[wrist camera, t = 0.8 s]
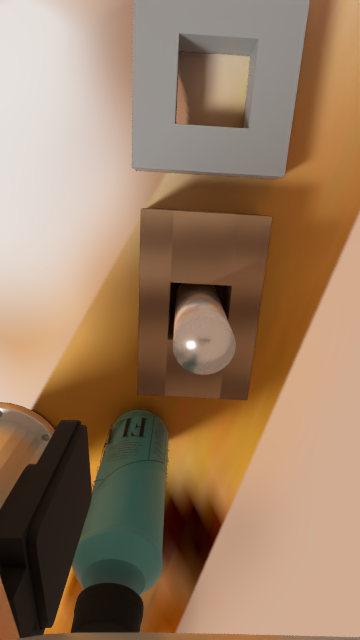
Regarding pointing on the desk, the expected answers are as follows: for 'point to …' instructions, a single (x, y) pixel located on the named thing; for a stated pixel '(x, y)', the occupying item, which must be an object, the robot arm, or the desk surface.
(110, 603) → the beverage bottle
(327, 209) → the desk surface
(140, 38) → the seat block
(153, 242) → the brown wooden block
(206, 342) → the axle peg
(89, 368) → the desk surface
